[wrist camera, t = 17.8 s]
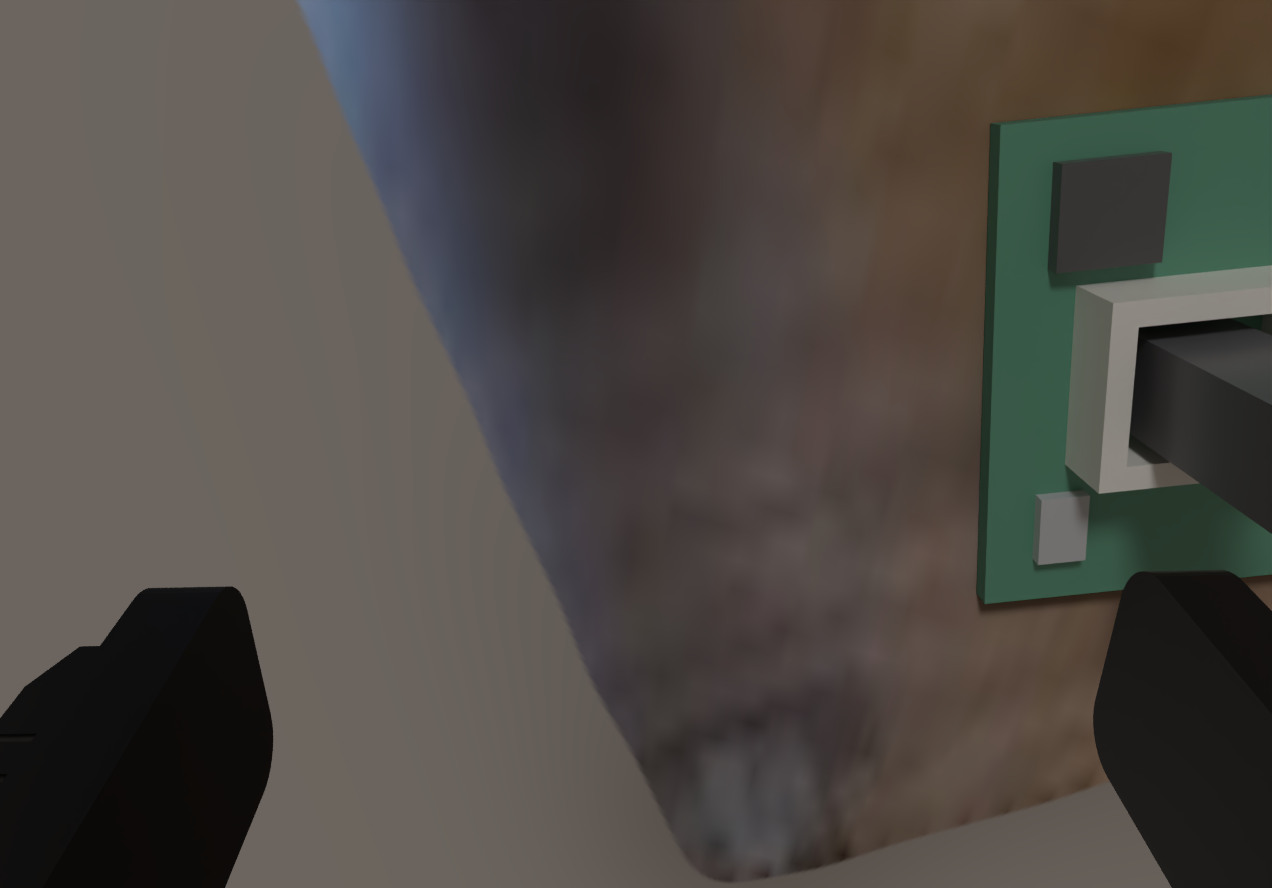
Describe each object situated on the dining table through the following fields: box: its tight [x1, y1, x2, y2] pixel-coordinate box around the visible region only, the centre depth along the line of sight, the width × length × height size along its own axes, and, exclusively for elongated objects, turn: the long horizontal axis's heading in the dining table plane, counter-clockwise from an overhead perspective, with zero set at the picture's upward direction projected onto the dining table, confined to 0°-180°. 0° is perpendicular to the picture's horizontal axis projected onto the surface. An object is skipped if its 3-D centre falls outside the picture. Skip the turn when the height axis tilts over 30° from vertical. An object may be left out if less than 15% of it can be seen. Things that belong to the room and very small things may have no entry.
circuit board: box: [977, 95, 1272, 604], centre depth 39 cm, size 20×14×4 cm
